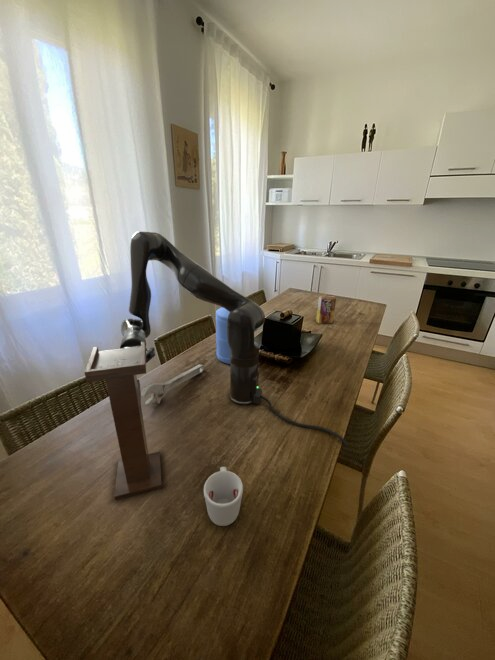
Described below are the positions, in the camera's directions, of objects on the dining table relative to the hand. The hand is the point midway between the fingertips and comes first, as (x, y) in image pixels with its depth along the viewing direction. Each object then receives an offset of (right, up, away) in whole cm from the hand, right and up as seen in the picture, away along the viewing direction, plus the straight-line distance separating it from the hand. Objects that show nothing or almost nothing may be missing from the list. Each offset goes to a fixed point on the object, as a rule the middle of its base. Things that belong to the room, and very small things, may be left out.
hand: (130, 367), depth 76 cm
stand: (+6, -25, -8) cm, 27 cm away
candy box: (+77, +15, +88) cm, 118 cm away
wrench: (+7, -11, +24) cm, 27 cm away
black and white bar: (+1, -5, -1) cm, 5 cm away
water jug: (+26, -1, +47) cm, 54 cm away
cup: (+27, -28, -15) cm, 42 cm away
